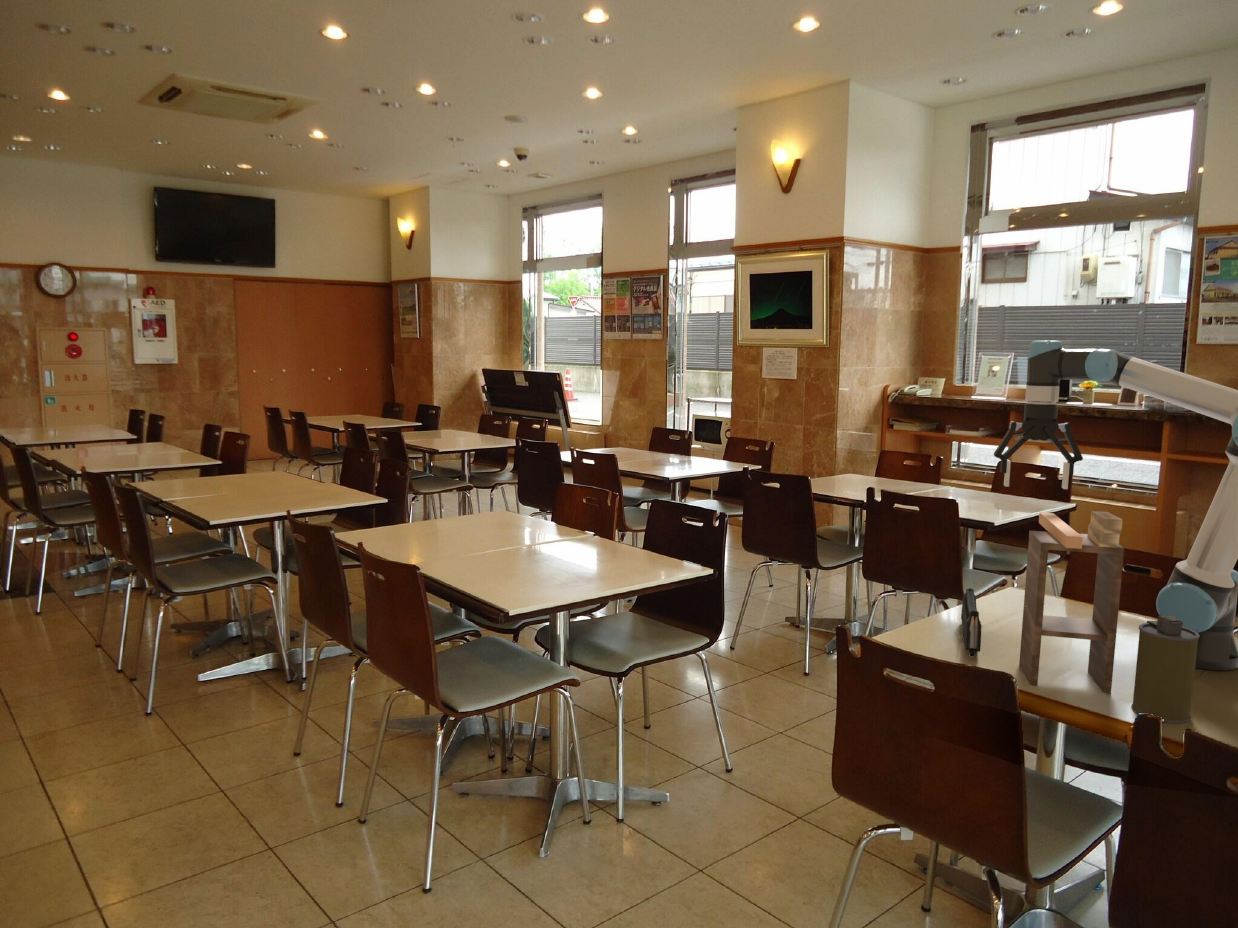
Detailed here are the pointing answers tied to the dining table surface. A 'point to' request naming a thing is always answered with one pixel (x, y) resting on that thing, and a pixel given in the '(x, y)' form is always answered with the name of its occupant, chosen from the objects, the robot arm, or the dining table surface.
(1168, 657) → the canister
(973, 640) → the magazine
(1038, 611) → the rack
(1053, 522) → the batten
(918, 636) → the dining table surface
